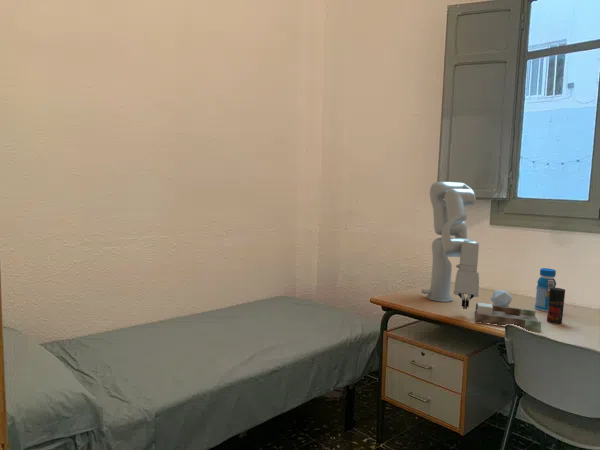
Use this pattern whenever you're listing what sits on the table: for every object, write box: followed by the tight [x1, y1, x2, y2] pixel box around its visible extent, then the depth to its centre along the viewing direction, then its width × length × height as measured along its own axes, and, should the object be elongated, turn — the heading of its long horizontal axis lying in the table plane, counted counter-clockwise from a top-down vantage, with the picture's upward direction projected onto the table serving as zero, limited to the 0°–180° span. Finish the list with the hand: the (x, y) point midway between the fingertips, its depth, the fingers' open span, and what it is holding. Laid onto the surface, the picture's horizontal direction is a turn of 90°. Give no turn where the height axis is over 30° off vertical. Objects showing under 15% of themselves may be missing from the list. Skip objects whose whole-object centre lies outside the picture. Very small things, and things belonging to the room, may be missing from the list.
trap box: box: [475, 302, 542, 332], centre depth 209 cm, size 25×19×4 cm
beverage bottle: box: [534, 267, 557, 313], centre depth 231 cm, size 8×8×20 cm
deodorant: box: [546, 287, 566, 325], centre depth 210 cm, size 6×6×15 cm
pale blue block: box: [477, 302, 494, 315], centre depth 212 cm, size 6×6×4 cm
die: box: [490, 289, 513, 307], centre depth 233 cm, size 8×9×10 cm
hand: (464, 308), depth 214 cm, fingers closed
